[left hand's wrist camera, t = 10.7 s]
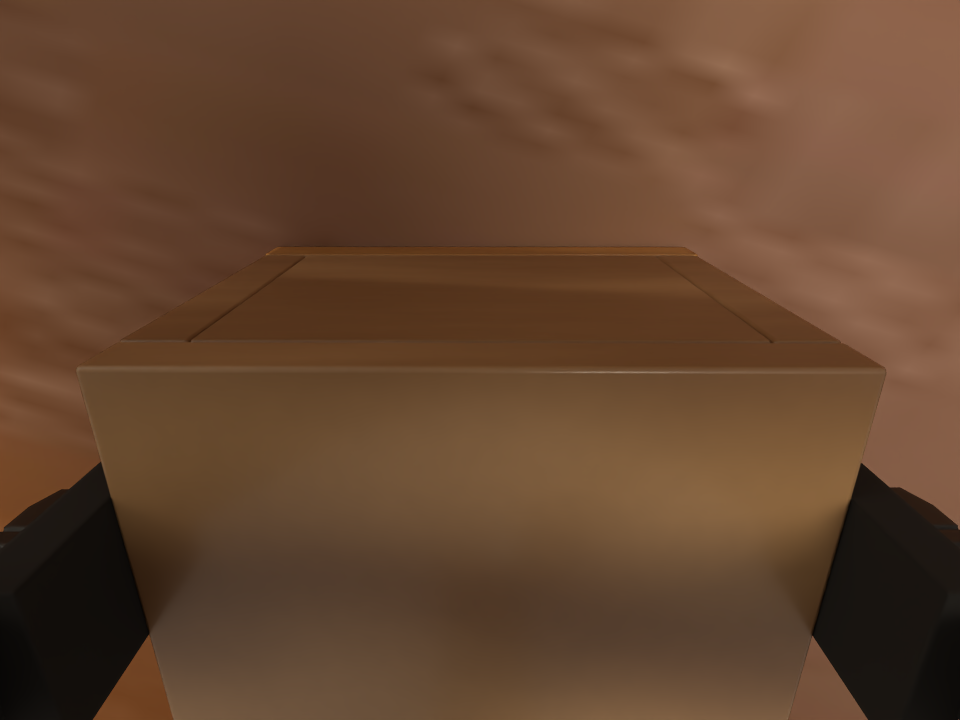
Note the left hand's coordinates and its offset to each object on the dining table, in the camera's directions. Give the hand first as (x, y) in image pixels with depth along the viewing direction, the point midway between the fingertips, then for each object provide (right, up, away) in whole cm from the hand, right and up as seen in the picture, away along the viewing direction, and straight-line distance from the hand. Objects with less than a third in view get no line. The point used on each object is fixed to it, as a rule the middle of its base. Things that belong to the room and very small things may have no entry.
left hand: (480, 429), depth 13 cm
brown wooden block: (0, -5, +6) cm, 8 cm away
